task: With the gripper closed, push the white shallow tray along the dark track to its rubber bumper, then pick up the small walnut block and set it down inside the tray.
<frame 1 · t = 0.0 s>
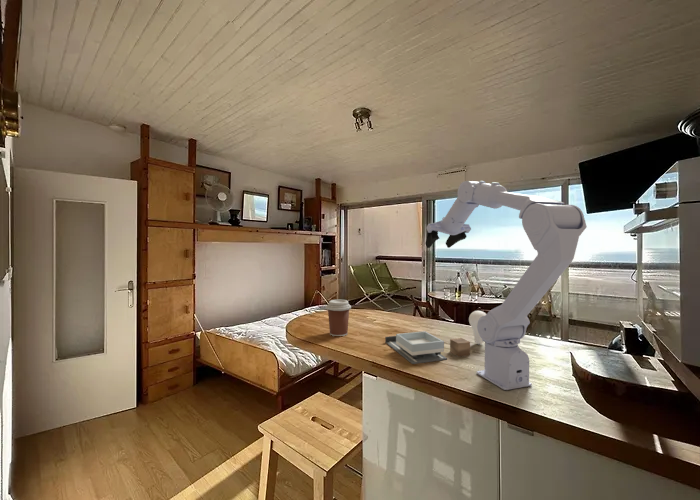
hand: (437, 245, 99), 32 cm above the worktop, tool tilted 50°, fingers open, 7 cm apart
coffee cup: (338, 334, 110), on the worktop
white shallow tray: (419, 344, 90), point 3 cm above the worktop, slide at 0.0 cm
block: (459, 353, 90), on the worktop
track: (413, 350, 93), on the worktop
lightbulb: (478, 344, 98), on the worktop
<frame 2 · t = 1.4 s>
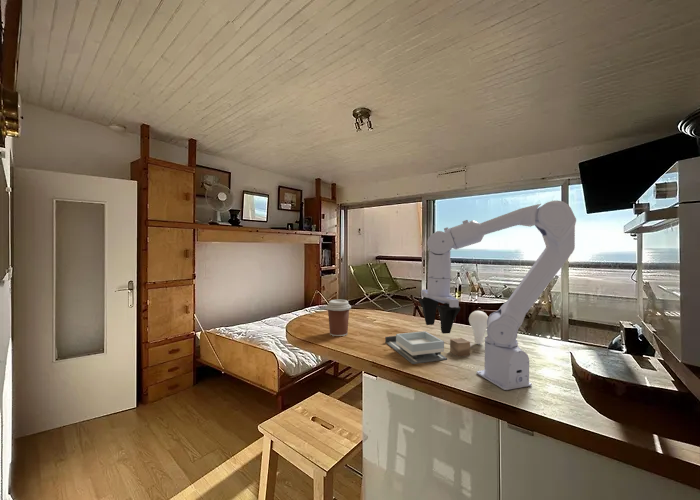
hand: (437, 328, 80), 10 cm above the worktop, tool pointing down, fingers open, 7 cm apart
nothing on the worktop moved.
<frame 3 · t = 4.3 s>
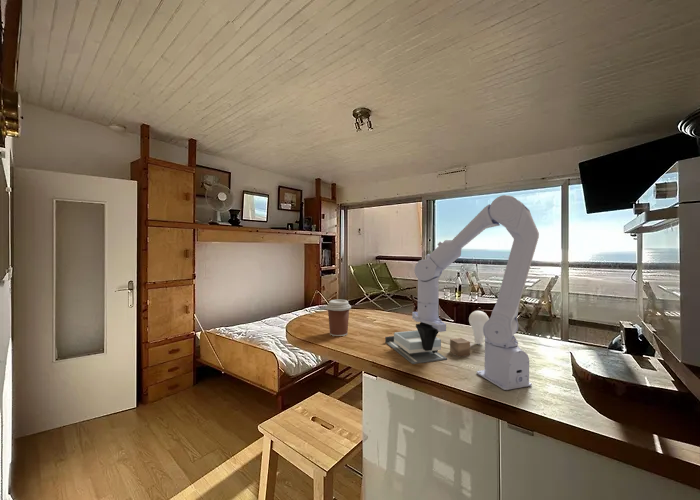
hand: (427, 349, 85), 3 cm above the worktop, tool pointing down, fingers closed
white shallow tray: (416, 342, 91), point 3 cm above the worktop, slide at 1.6 cm, touching gripper
everything else where it was.
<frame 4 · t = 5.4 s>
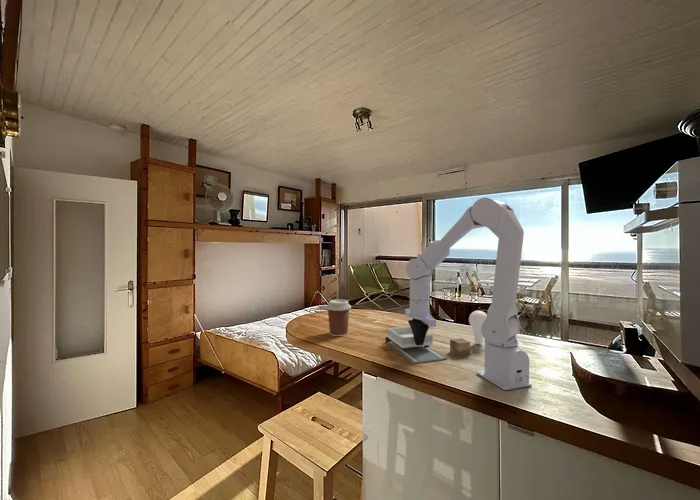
hand: (419, 344, 90), 3 cm above the worktop, tool pointing down, fingers closed
white shallow tray: (409, 338, 96), point 3 cm above the worktop, slide at 6.1 cm, touching gripper
everything else where it was.
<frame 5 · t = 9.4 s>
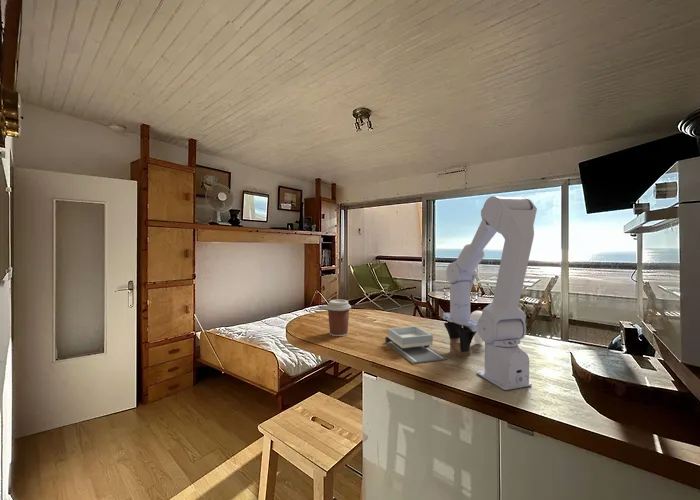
hand: (459, 348, 90), 1 cm above the worktop, tool pointing down, fingers closed on block, 4 cm apart
white shallow tray: (409, 338, 96), point 3 cm above the worktop, slide at 6.0 cm
block: (459, 353, 90), on the worktop, touching gripper
everything else where it was.
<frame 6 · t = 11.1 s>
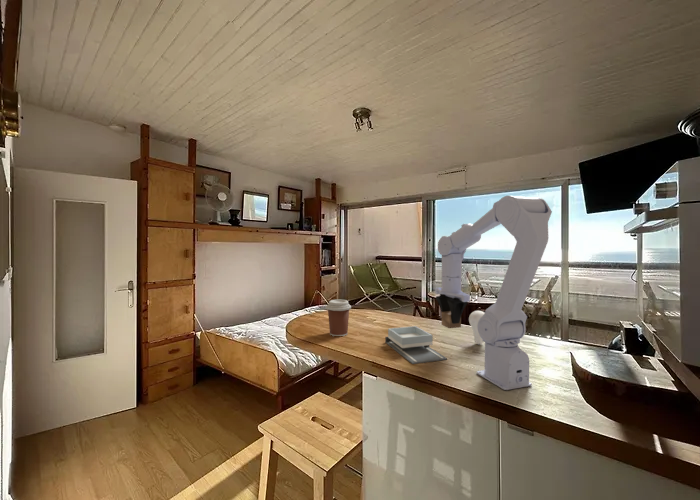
hand: (450, 321, 91), 9 cm above the worktop, tool pointing down, fingers closed on block, 4 cm apart
block: (451, 326, 91), point 8 cm above the worktop, touching gripper
everything else where it was.
when the fingers open (6 cm above the worktop, at t = 13.0 s): block drops 1 cm, resting on white shallow tray.
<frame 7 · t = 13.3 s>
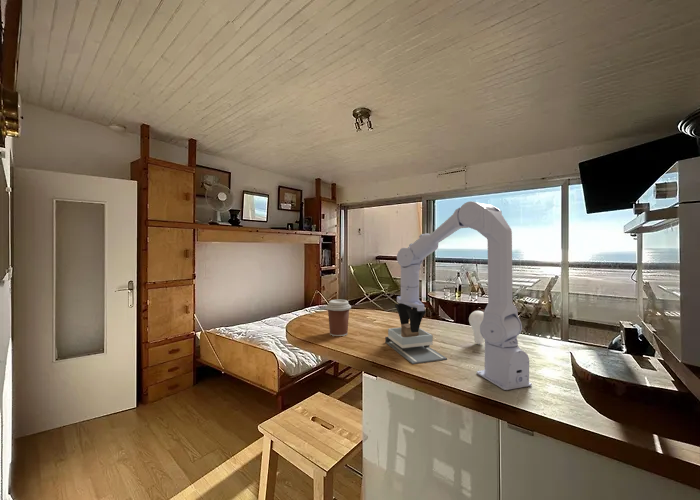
hand: (409, 328, 95), 6 cm above the worktop, tool pointing down, fingers open, 6 cm apart
white shallow tray: (409, 338, 95), point 3 cm above the worktop, slide at 6.0 cm, touching block
block: (409, 337, 96), point 3 cm above the worktop, touching white shallow tray
everything else where it was.
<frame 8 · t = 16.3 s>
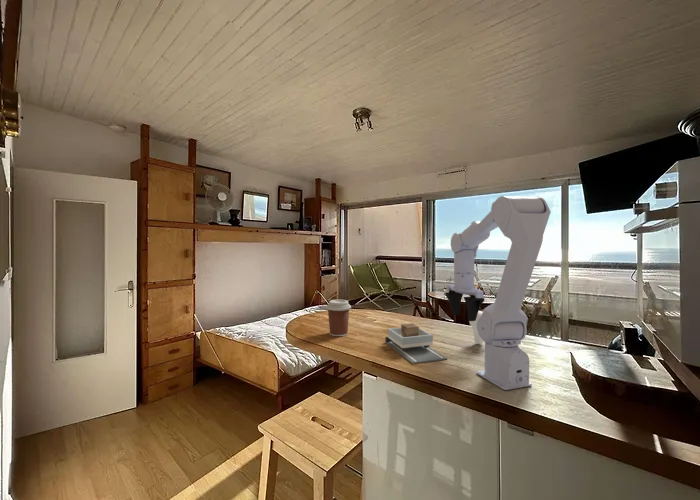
hand: (463, 317, 92), 10 cm above the worktop, tool pointing down, fingers open, 7 cm apart
nothing on the worktop moved.
at the end: white shallow tray slide at 6.0 cm; block 0.1 cm off-centre on the white shallow tray, point 3.0 cm above the white shallow tray's base; the gripper is holding nothing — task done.
